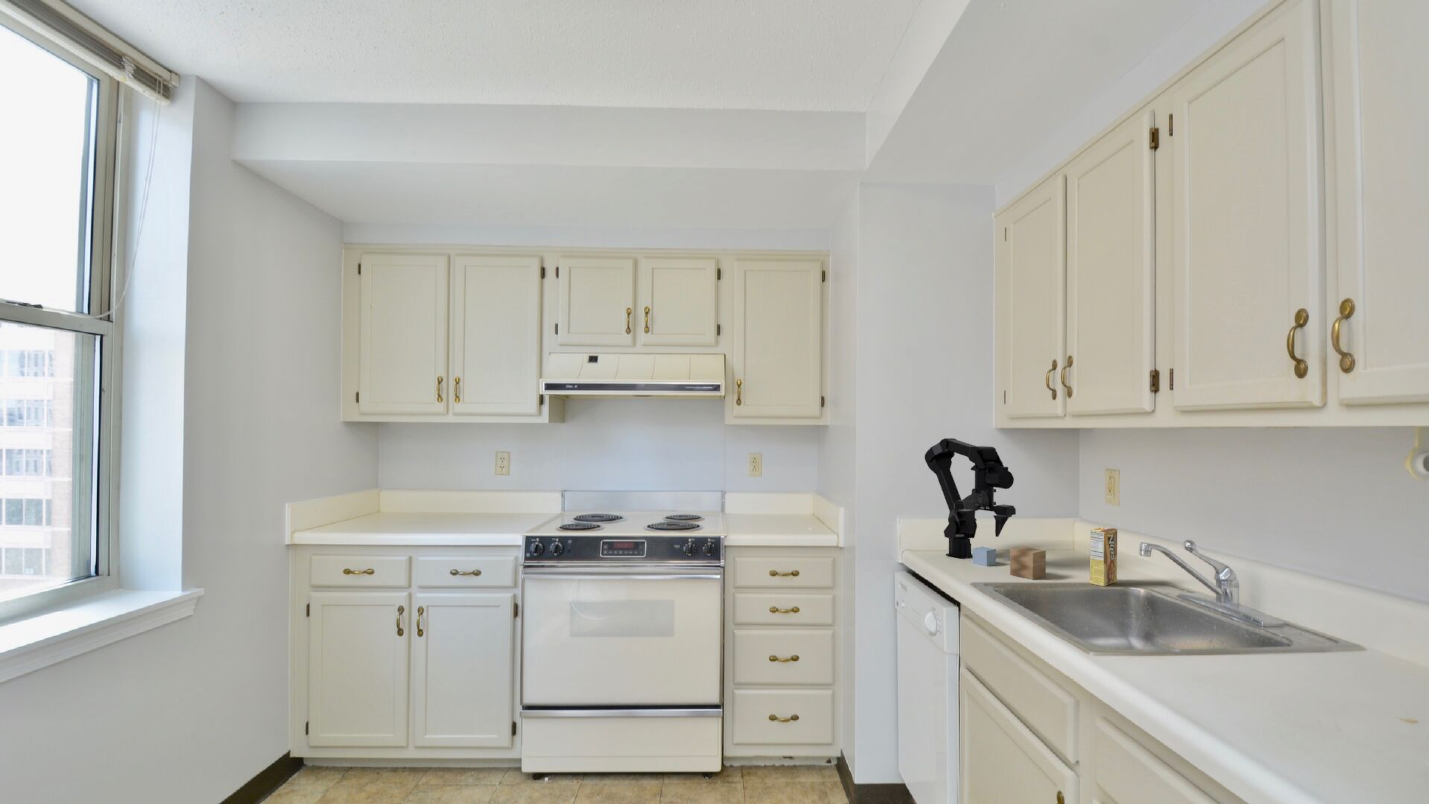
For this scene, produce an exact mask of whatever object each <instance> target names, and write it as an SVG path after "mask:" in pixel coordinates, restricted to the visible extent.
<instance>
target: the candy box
mask: <svg viewBox="0 0 1429 804" xmlns="http://www.w3.org/2000/svg"><path fill="white" fill-rule="evenodd" d="M1089 531H1090V533H1089V536H1090V537H1089V539H1090V540H1089V541H1090V542H1089V543H1090V544H1089V547H1090V548H1089V585H1095V586H1100V587H1106V586H1108V585H1111V584H1114V583H1117V582H1118V570H1117V569H1118V529H1117V528H1112V527H1105V526H1102V527H1098V528H1093V529H1090V530H1089Z"/></svg>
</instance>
